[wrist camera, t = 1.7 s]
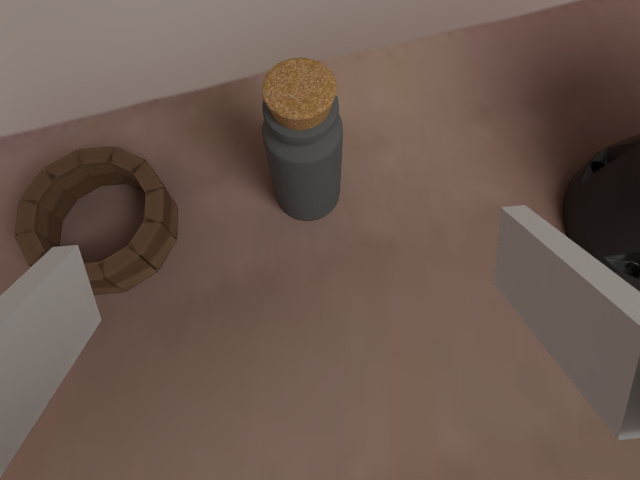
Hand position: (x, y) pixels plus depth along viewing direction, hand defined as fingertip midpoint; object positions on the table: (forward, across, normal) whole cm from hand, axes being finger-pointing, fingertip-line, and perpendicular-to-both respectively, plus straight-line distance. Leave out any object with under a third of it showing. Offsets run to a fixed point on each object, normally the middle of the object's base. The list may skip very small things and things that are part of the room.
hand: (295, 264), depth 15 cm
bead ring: (+27, -17, -9) cm, 33 cm away
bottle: (+29, +1, -7) cm, 30 cm away
